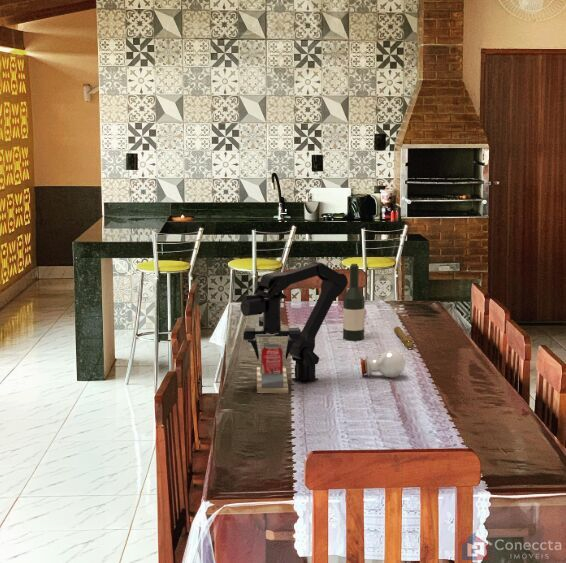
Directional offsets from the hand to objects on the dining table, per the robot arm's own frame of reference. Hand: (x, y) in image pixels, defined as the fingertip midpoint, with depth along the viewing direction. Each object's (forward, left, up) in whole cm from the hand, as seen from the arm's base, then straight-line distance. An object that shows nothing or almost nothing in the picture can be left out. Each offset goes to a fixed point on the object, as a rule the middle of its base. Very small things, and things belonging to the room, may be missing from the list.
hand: (272, 359), depth 326 cm
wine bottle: (+23, -72, -9) cm, 76 cm away
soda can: (0, 0, -8) cm, 8 cm away
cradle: (+4, -4, -9) cm, 10 cm away
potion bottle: (-20, -33, -9) cm, 40 cm away
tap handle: (+6, -82, -10) cm, 83 cm away
